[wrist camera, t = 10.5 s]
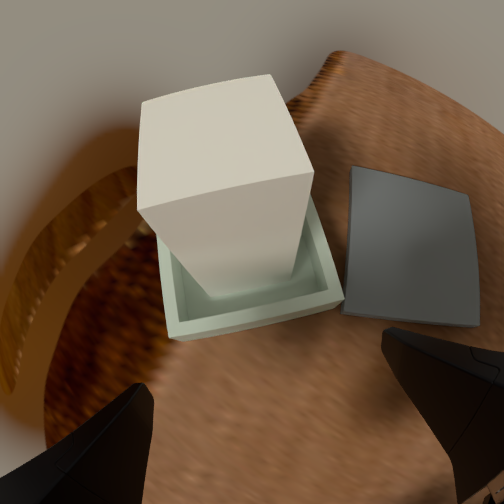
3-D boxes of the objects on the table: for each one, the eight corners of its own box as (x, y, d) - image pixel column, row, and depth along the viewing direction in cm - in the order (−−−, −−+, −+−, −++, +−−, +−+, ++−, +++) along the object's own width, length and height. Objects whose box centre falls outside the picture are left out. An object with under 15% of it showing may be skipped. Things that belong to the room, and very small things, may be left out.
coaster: (472, 327, 18) (479, 325, 17) (340, 313, 19) (343, 311, 18) (463, 200, 22) (468, 195, 21) (349, 172, 23) (352, 165, 22)
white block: (290, 280, 20) (314, 171, 8) (210, 297, 20) (137, 210, 8) (271, 210, 22) (270, 74, 10) (199, 226, 22) (142, 102, 10)
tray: (333, 308, 19) (344, 298, 16) (183, 341, 19) (168, 337, 16) (294, 181, 23) (296, 157, 20) (166, 209, 23) (154, 189, 20)
